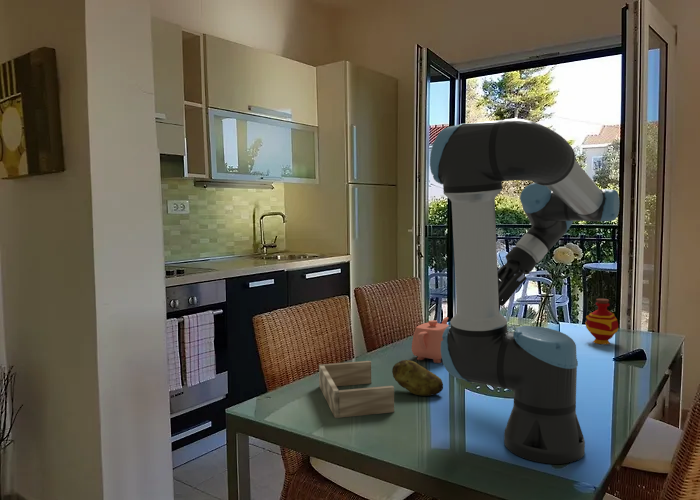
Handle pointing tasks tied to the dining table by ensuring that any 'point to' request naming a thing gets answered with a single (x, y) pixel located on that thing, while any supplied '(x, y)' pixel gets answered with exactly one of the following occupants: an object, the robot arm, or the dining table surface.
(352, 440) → the dining table surface
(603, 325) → the red yellow vase
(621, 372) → the dining table surface
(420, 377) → the potato
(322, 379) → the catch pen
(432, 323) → the teapot
